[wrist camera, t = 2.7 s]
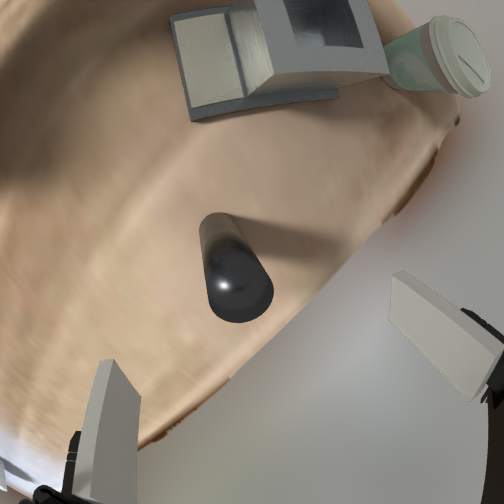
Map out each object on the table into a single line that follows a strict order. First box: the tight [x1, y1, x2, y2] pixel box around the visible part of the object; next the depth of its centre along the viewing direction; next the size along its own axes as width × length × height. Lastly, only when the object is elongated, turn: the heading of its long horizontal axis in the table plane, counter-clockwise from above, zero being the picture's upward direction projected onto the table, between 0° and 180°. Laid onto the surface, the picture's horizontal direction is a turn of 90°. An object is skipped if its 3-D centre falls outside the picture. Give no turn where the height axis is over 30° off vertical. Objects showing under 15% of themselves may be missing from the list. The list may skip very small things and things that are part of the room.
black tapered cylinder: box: [199, 212, 274, 323], centre depth 20 cm, size 4×4×12 cm
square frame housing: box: [169, 0, 390, 122], centre depth 16 cm, size 14×11×9 cm
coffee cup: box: [381, 16, 491, 98], centre depth 17 cm, size 8×9×12 cm
